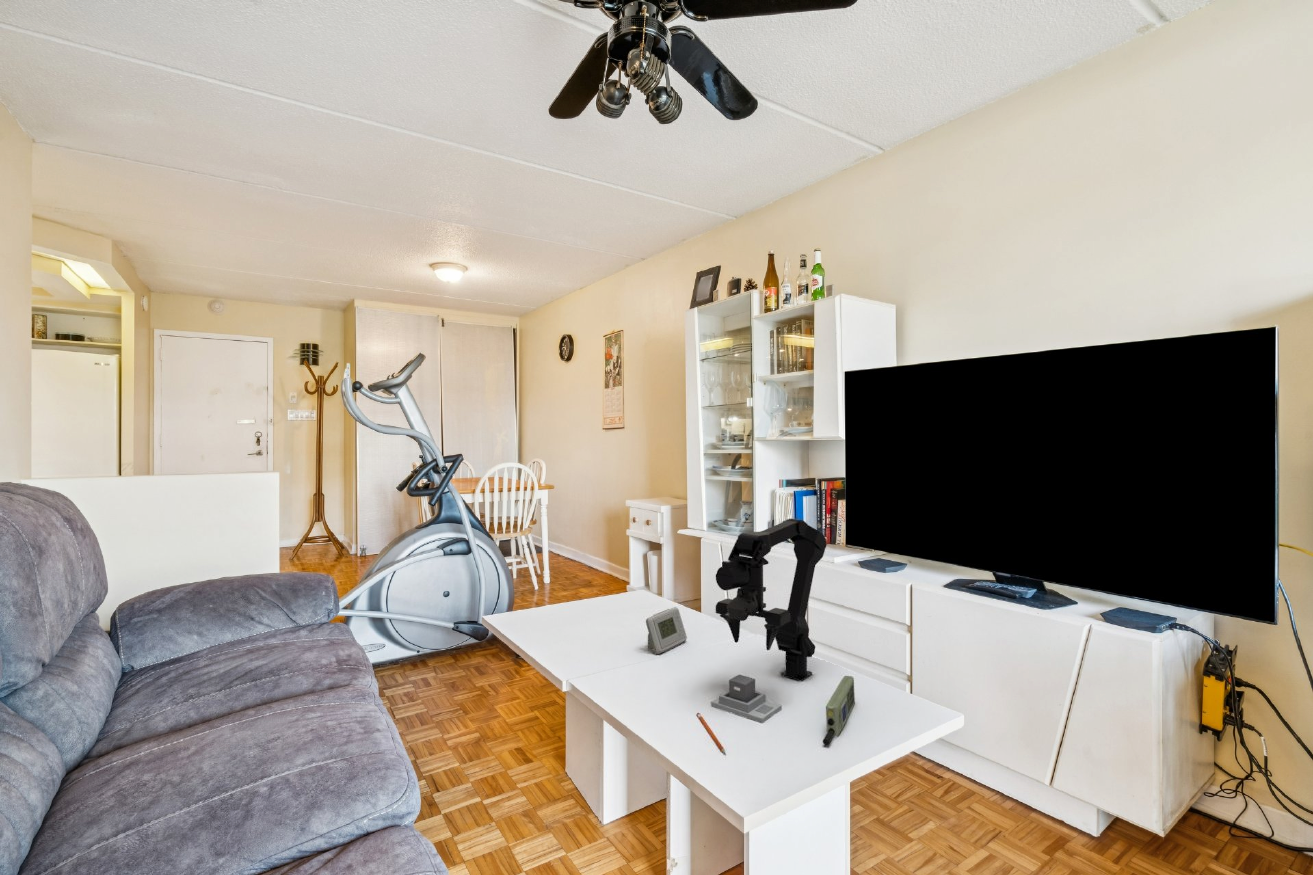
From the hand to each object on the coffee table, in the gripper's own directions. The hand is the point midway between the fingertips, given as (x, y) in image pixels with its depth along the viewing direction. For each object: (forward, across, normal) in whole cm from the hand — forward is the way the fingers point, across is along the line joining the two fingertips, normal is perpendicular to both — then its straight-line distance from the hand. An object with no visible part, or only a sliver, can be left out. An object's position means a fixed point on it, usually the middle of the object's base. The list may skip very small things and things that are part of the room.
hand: (752, 645), depth 153 cm
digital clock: (+12, -39, +14) cm, 43 cm away
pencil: (+13, +4, -24) cm, 27 cm away
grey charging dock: (+12, +3, -8) cm, 15 cm away
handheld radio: (+12, +23, -1) cm, 26 cm away
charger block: (+11, +2, -8) cm, 14 cm away
